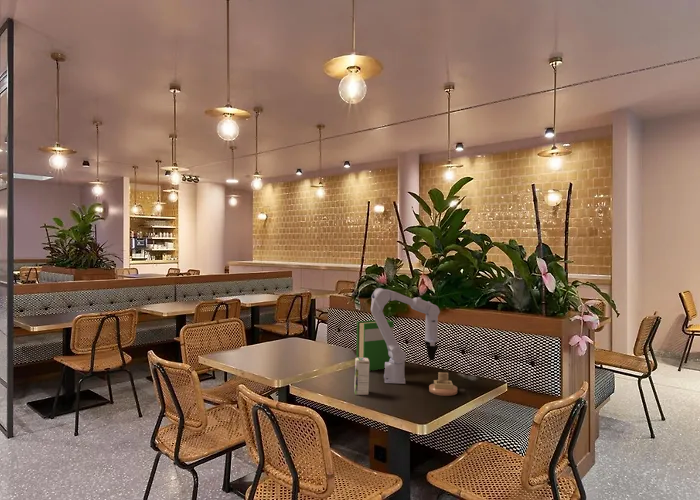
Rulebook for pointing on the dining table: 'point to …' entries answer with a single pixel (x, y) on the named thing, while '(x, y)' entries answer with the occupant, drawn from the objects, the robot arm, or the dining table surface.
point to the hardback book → (372, 344)
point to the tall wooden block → (443, 377)
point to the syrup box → (361, 376)
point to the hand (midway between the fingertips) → (430, 358)
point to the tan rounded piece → (443, 388)
